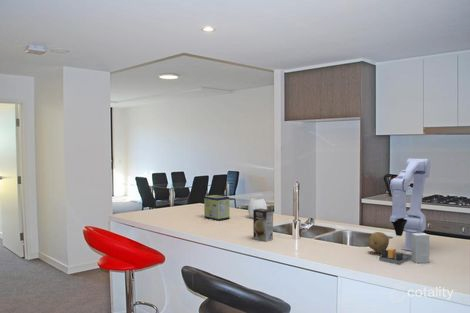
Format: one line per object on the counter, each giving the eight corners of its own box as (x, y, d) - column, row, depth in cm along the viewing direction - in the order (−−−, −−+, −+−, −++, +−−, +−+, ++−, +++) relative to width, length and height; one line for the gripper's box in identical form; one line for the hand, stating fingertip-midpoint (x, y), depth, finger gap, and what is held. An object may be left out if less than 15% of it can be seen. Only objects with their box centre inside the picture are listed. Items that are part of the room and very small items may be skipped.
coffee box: (252, 239, 218) (252, 209, 217) (260, 237, 223) (260, 208, 222) (266, 241, 212) (265, 211, 211) (273, 239, 216) (273, 209, 216)
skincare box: (424, 260, 176) (424, 232, 176) (429, 262, 172) (429, 235, 172) (410, 260, 176) (411, 233, 176) (415, 263, 172) (415, 235, 172)
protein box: (215, 216, 289) (215, 194, 288) (230, 219, 277) (229, 196, 277) (203, 218, 282) (203, 196, 281) (218, 221, 270) (218, 198, 270)
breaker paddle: (391, 255, 177) (391, 248, 177) (395, 256, 175) (395, 248, 175) (387, 257, 175) (387, 249, 174) (392, 258, 173) (392, 250, 173)
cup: (249, 216, 288) (249, 197, 288) (267, 216, 286) (267, 197, 286) (247, 219, 275) (247, 199, 275) (266, 219, 273) (266, 200, 273)
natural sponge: (374, 256, 182) (374, 234, 182) (364, 251, 191) (364, 230, 191) (392, 255, 184) (392, 233, 184) (381, 250, 193) (381, 229, 193)
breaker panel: (392, 254, 185) (392, 246, 185) (411, 258, 179) (412, 249, 179) (379, 260, 176) (379, 251, 176) (399, 264, 170) (399, 255, 170)
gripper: (401, 208, 172) (401, 239, 172) (414, 204, 182) (414, 234, 182) (385, 206, 177) (385, 237, 177) (399, 202, 187) (399, 231, 188)
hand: (399, 235), depth 180 cm, fingers closed
